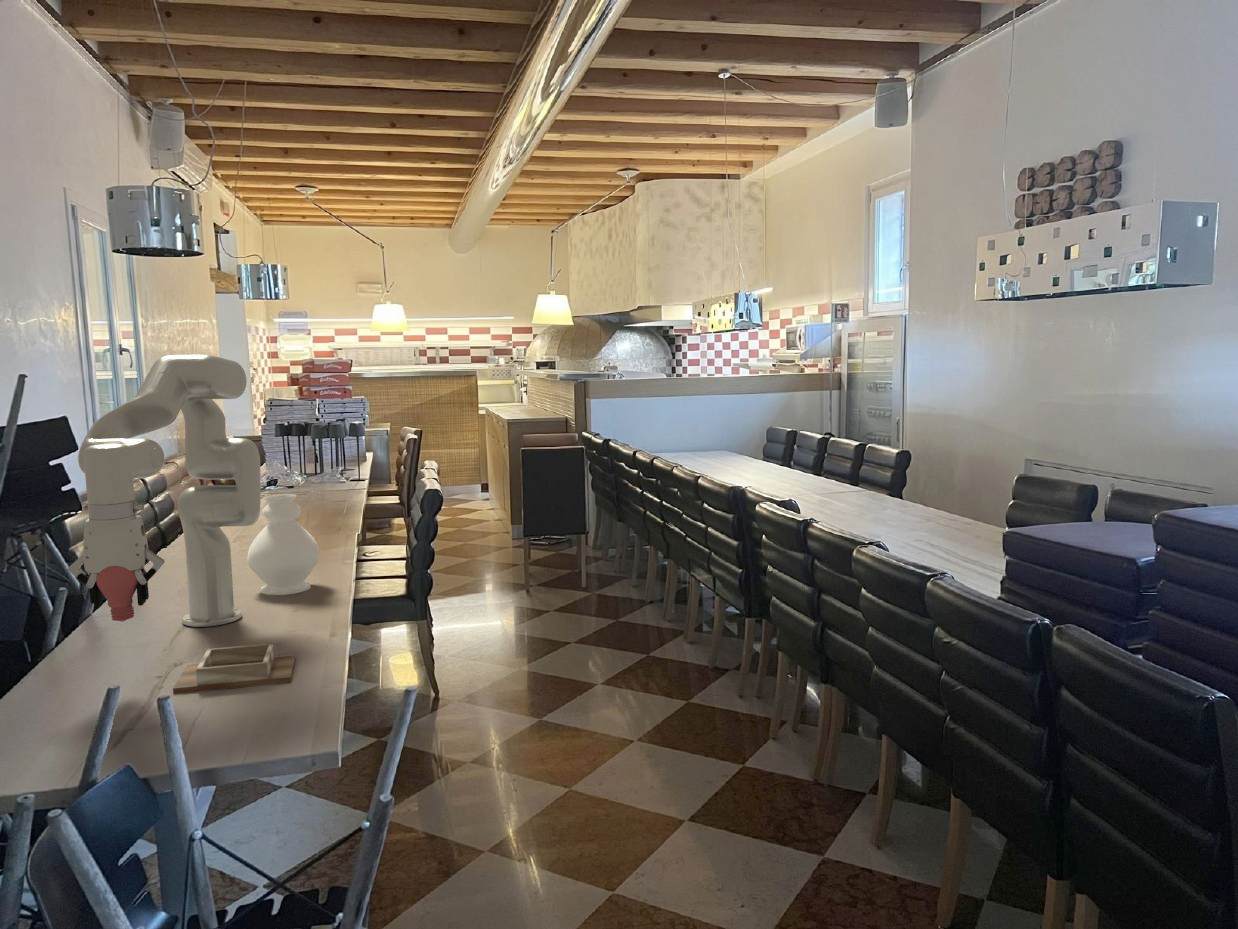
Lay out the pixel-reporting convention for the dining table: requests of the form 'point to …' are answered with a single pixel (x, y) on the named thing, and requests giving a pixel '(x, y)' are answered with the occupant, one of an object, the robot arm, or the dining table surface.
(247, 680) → the bulb holder
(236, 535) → the dining table surface
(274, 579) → the decorative vase
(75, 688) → the dining table surface
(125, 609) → the light bulb
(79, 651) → the dining table surface
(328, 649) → the dining table surface
